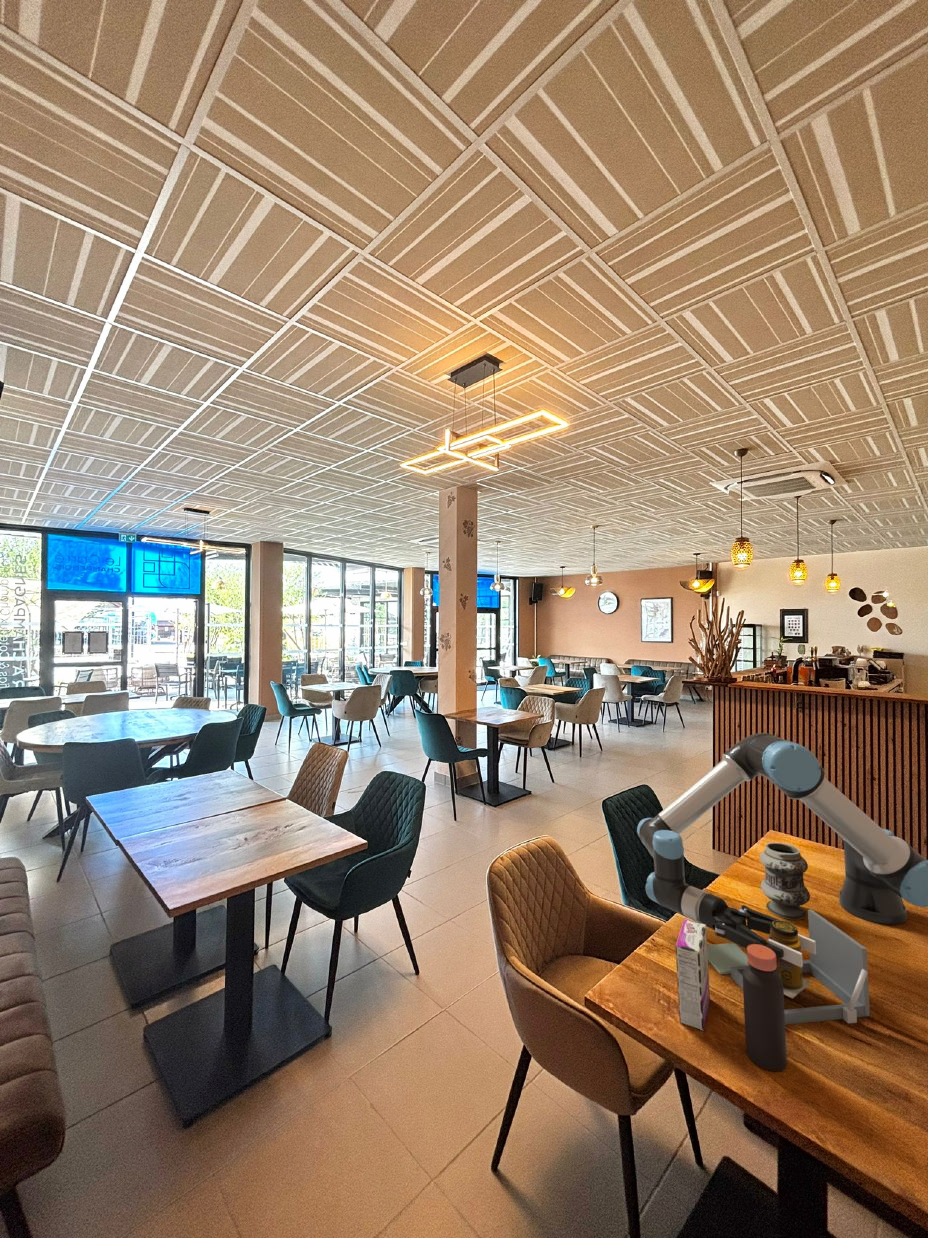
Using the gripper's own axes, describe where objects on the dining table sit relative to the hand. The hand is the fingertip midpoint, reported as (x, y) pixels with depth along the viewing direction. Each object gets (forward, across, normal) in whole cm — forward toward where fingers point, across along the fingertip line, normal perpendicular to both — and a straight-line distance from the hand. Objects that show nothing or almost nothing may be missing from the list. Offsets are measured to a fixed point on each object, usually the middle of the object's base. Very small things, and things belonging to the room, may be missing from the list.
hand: (808, 954), depth 109 cm
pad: (-19, -2, -12) cm, 23 cm away
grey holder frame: (-4, -2, -12) cm, 13 cm away
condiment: (-5, +1, -8) cm, 10 cm away
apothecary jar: (-20, -36, -12) cm, 44 cm away
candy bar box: (-15, +20, -12) cm, 27 cm away
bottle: (0, +20, -12) cm, 23 cm away
